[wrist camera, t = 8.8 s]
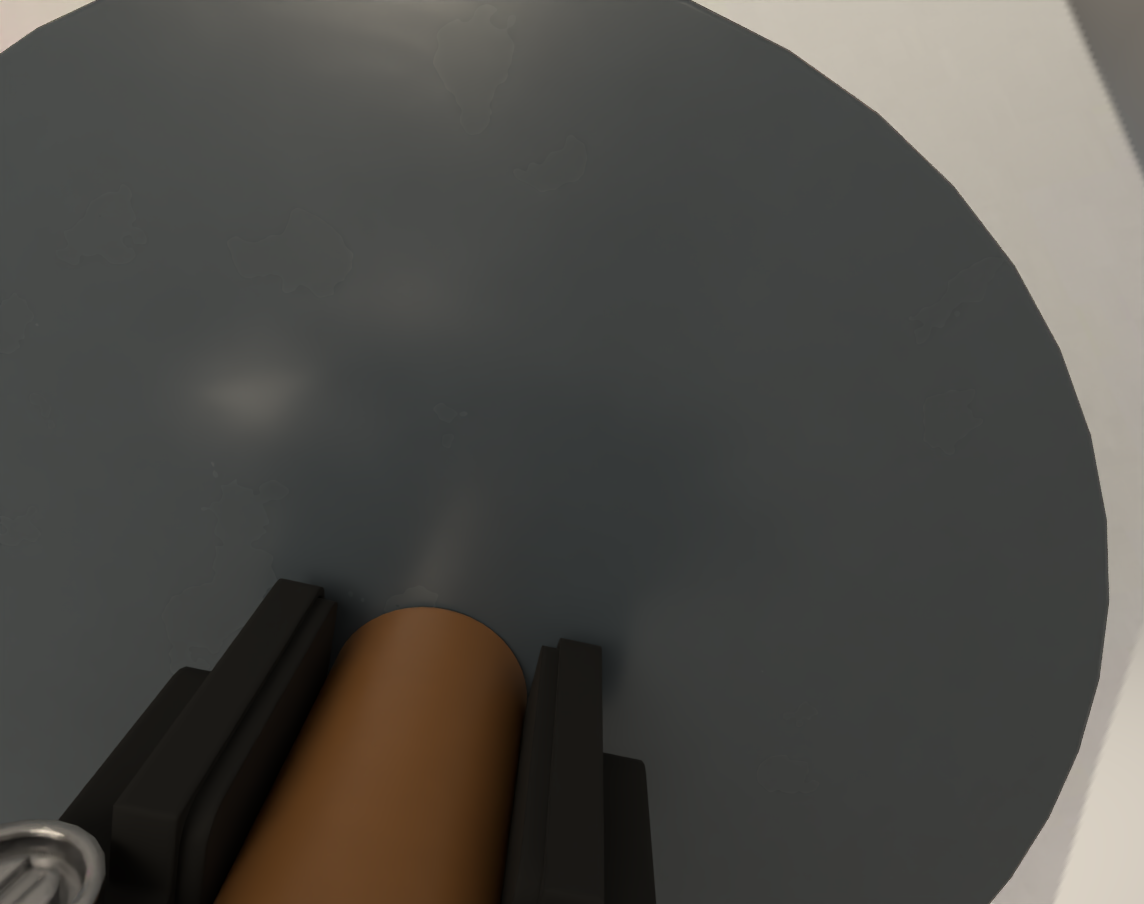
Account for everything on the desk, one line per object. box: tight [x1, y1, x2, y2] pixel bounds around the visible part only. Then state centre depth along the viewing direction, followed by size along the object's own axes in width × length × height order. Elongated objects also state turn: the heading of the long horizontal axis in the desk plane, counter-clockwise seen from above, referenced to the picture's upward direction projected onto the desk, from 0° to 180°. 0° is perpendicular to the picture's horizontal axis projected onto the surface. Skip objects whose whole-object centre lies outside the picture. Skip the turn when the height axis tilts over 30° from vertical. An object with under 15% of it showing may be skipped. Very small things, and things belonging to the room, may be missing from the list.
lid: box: [0, 0, 1109, 904], centre depth 10 cm, size 18×18×6 cm
